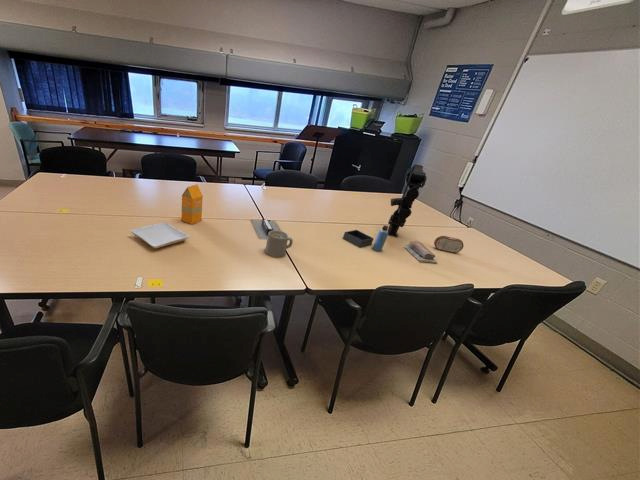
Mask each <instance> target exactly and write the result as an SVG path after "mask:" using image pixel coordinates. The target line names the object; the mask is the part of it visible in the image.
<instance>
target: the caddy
mask: <svg viewBox="0 0 640 480" xmlns="http://www.w3.org/2000/svg"><path fill="white" fill-rule="evenodd" d="M343 239H344V240H345V241H347V242H349V243H351V244H353V245H354V246H357V247H358V248H364V247H367V246H371V245H372V244H373V242H374V237H373V236H369V234H366V233H364V232H363V231H360V230H358V229H354V230H349V231H348V230H347V231H344V234H343V237H342V240H343Z"/></svg>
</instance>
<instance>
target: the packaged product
mask: <svg viewBox="0 0 640 480" xmlns="http://www.w3.org/2000/svg"><path fill="white" fill-rule="evenodd" d="M404 248H405V249H406V250H407V251H408V252H409V253H410V254H411V255H412V256H413V257H414V258H416V260H417V261H419V262H420V263H434V264H438V260H437V259H435V258H436V255H435V253H433V252H432V251H431V250H430V249H429V248H427V247H426V245H424V244H423V242H420V241H416V240H415V241H414V240H413V241H410V242H409V243H408V244H406V245H405V246H404Z"/></svg>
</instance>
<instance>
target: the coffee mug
mask: <svg viewBox="0 0 640 480" xmlns="http://www.w3.org/2000/svg"><path fill="white" fill-rule="evenodd" d="M288 242H289V243H288ZM293 242H294V239H293V238H292V237H290V236H289V234H288V233H287V232H285V231H282V230H280V231H278V230H272V231H270V232H269V233H268V238H266V245H265V250H264V252H265V254H266V255H267V256H269V257H273V258H283V257H285V254H286V251H287V249H289V248H291V247H292V245H293Z"/></svg>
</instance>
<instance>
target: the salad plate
mask: <svg viewBox="0 0 640 480" xmlns="http://www.w3.org/2000/svg"><path fill="white" fill-rule="evenodd" d="M129 231H130V233H131V234H132V235H134V236H135V237H137V238H138V239H140V240H141V241H143V242H145V243H146V244H147V245H149V246H150V247H151V248H152V249H159V248H163V247H168V246H171V245H173V244H177V243H179V242H183V241H185V240H188V239H189V238H190V235H189V234H187V233H185V232H183V231H182V230H180V229H178V228H177V227H175V226H173V225H171V224H170V223H168V222H158V223H154V224H150V225H146V226H140V227H137V228H132V229H130V230H129Z"/></svg>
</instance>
